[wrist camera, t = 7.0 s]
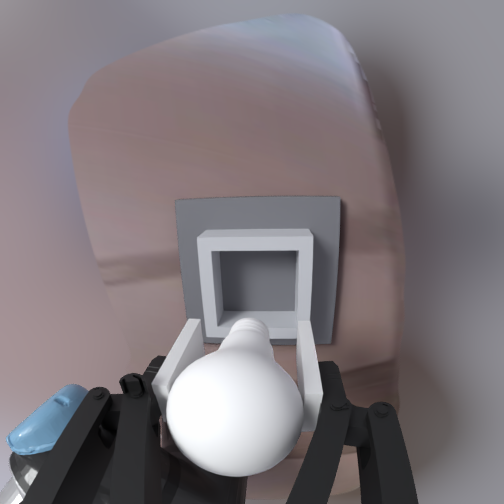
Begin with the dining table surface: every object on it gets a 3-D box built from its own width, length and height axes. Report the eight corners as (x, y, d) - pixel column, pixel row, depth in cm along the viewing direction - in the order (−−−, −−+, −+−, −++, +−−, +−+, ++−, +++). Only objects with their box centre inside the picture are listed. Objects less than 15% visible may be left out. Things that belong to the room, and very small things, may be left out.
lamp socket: (329, 338, 31) (335, 361, 27) (192, 336, 33) (181, 358, 28) (337, 196, 27) (349, 200, 23) (178, 199, 28) (161, 204, 24)
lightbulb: (305, 294, 18) (329, 432, 7) (286, 368, 20) (286, 502, 9) (210, 279, 18) (137, 399, 8) (204, 354, 20) (154, 479, 9)
